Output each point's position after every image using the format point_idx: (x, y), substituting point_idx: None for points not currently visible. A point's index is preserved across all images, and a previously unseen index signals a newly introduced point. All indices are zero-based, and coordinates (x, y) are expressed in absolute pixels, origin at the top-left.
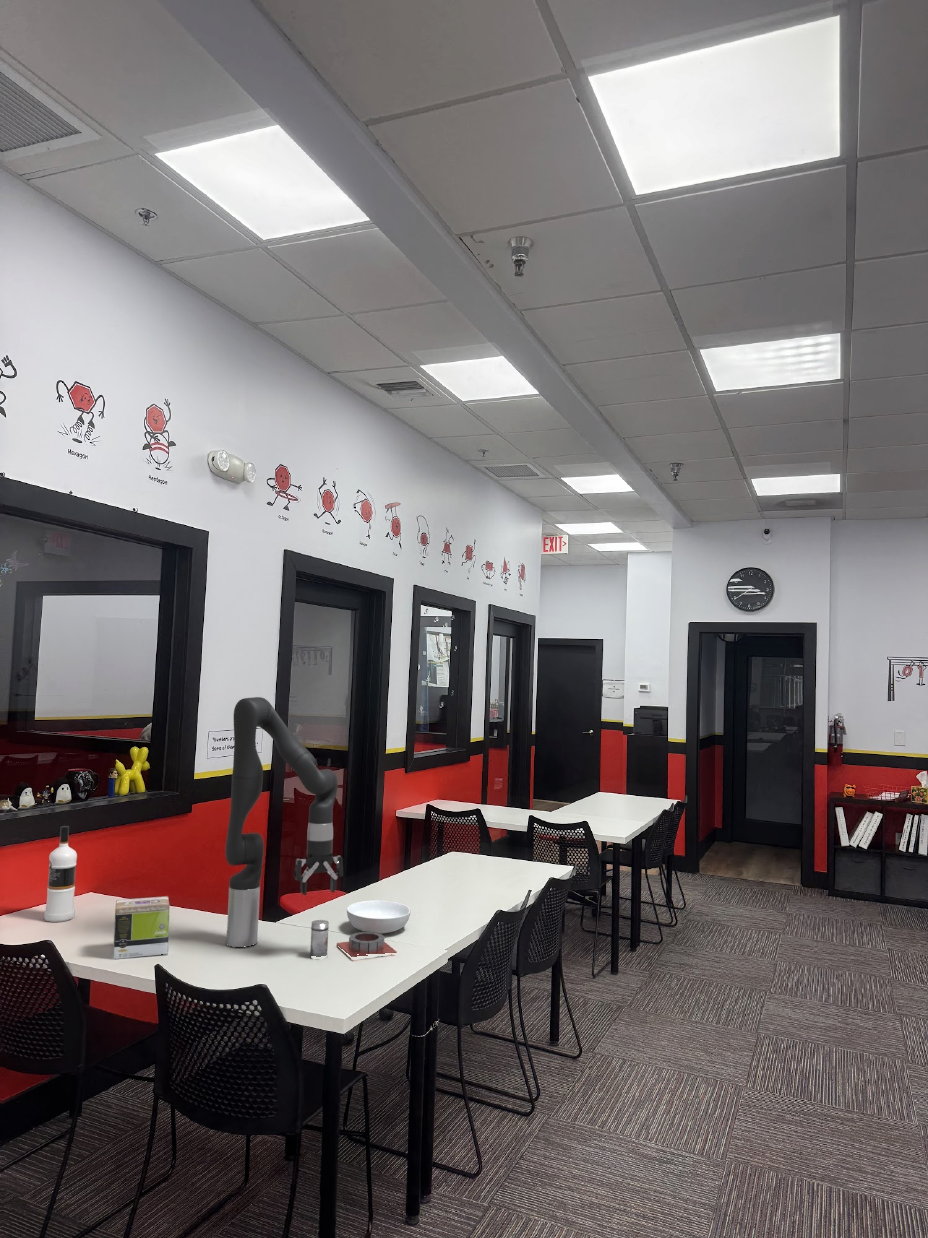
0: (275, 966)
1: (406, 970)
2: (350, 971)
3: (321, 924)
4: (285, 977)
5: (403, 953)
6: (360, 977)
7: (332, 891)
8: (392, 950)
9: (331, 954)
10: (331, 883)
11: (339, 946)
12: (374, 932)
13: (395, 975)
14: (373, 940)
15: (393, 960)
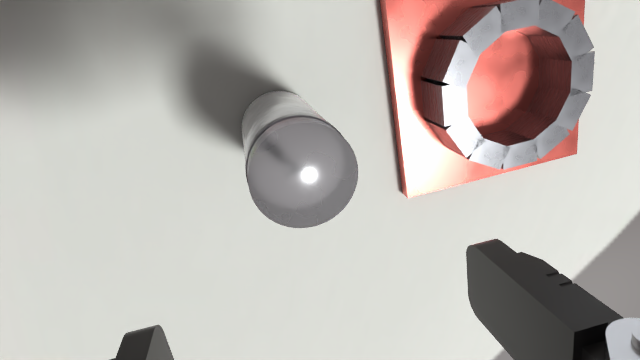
0: (85, 219)
1: None
2: (373, 287)
3: (308, 218)
4: (138, 329)
5: (595, 133)
6: (392, 335)
7: (478, 316)
8: (568, 139)
9: (337, 102)
10: (529, 337)
11: (387, 33)
12: (577, 19)
13: None
14: (530, 141)
15: (536, 200)
